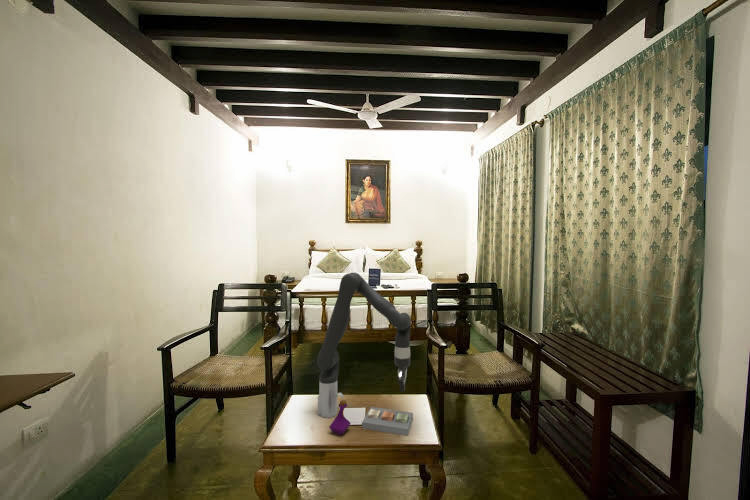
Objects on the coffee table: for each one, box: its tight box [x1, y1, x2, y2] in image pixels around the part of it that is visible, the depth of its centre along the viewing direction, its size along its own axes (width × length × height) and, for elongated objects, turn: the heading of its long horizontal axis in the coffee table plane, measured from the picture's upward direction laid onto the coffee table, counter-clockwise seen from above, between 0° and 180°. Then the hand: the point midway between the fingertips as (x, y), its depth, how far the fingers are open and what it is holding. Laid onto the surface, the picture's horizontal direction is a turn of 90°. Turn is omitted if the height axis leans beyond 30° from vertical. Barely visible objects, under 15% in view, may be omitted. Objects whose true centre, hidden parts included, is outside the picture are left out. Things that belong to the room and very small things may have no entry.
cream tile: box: [367, 409, 381, 419], centre depth 163 cm, size 5×5×2 cm
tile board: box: [361, 406, 414, 437], centre depth 161 cm, size 22×15×3 cm
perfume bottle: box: [328, 392, 352, 436], centre depth 154 cm, size 8×8×18 cm
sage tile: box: [396, 413, 408, 423], centre depth 159 cm, size 5×5×2 cm
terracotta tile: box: [382, 411, 394, 421], centre depth 161 cm, size 5×5×2 cm
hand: (402, 390), depth 159 cm, fingers closed
